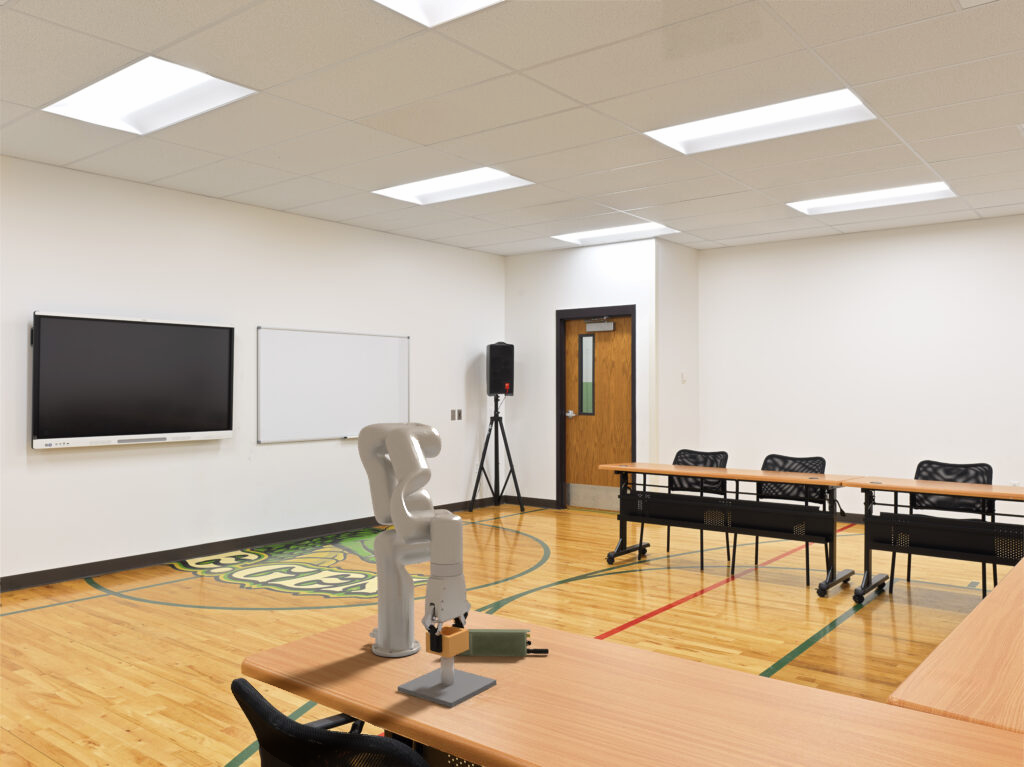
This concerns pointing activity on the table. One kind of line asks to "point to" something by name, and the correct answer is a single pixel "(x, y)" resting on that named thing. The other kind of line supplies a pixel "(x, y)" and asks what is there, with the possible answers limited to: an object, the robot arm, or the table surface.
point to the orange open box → (451, 641)
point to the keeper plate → (447, 692)
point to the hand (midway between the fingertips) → (447, 646)
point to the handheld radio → (500, 643)
